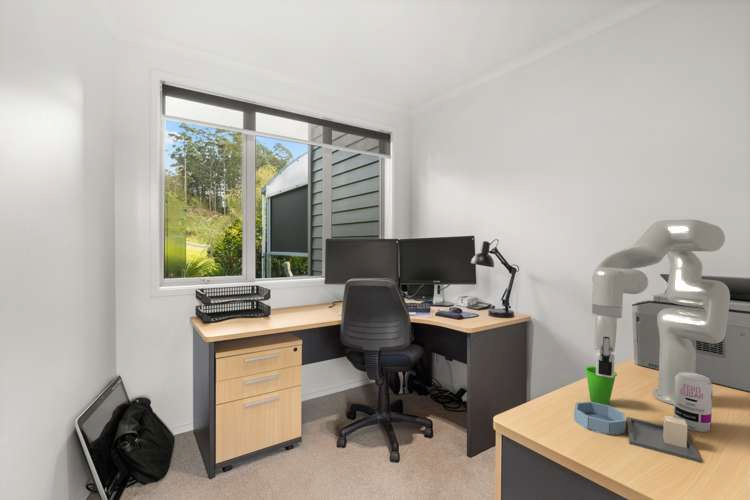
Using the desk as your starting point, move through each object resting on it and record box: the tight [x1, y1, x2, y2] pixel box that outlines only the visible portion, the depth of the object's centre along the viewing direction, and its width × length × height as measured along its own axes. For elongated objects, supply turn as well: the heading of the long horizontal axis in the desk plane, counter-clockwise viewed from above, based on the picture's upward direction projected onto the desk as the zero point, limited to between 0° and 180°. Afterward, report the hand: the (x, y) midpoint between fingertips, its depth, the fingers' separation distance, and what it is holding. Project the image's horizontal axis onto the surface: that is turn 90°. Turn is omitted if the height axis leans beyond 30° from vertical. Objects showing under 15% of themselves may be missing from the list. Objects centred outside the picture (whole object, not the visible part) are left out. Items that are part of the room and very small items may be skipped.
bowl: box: [573, 400, 626, 436], centre depth 104 cm, size 12×12×4 cm
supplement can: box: [673, 372, 713, 433], centre depth 104 cm, size 8×8×15 cm
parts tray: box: [626, 416, 701, 463], centre depth 97 cm, size 16×14×1 cm
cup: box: [584, 365, 618, 406], centre depth 119 cm, size 9×9×11 cm
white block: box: [595, 351, 616, 378], centre depth 105 cm, size 4×4×6 cm
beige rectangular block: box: [662, 415, 688, 448], centre depth 95 cm, size 4×4×6 cm
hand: (604, 371), depth 105 cm, fingers closed on white block, 3 cm apart
